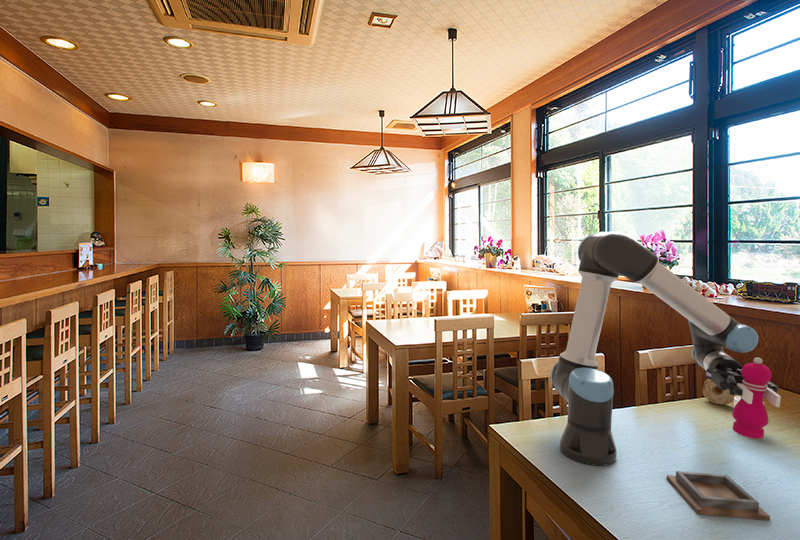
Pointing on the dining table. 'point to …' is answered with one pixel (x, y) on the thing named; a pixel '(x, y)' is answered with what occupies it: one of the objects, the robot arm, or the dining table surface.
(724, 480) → the cruet board
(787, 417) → the dining table surface
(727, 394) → the stone disc
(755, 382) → the pepper mill
